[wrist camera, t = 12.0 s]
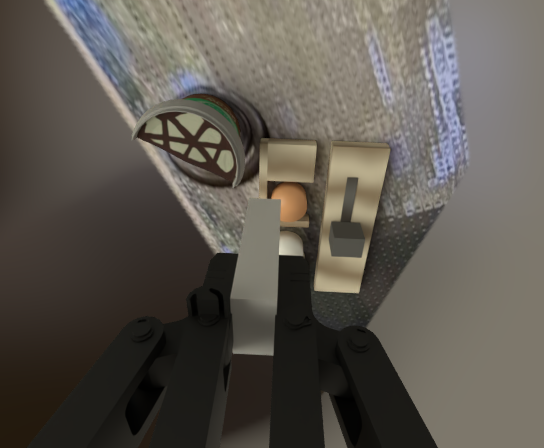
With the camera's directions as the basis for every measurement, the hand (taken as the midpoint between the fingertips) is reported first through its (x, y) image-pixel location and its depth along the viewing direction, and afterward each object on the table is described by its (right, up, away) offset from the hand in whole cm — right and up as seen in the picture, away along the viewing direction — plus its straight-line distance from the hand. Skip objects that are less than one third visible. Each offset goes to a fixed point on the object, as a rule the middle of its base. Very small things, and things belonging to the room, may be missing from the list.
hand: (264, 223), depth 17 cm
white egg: (+2, -3, +34) cm, 34 cm away
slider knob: (+10, -1, +32) cm, 34 cm away
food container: (-7, +14, +27) cm, 31 cm away
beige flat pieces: (+7, +1, +34) cm, 35 cm away
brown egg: (+3, +4, +32) cm, 32 cm away
